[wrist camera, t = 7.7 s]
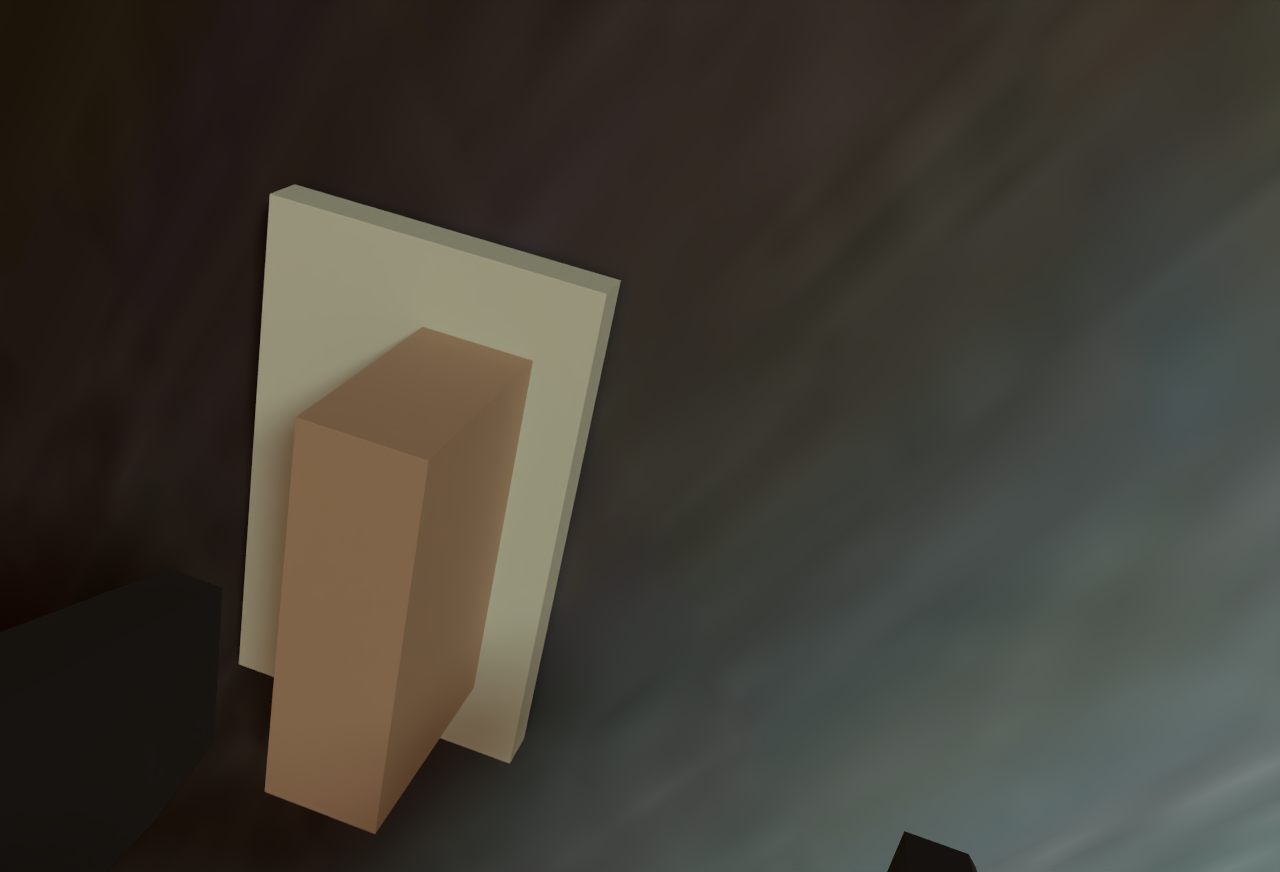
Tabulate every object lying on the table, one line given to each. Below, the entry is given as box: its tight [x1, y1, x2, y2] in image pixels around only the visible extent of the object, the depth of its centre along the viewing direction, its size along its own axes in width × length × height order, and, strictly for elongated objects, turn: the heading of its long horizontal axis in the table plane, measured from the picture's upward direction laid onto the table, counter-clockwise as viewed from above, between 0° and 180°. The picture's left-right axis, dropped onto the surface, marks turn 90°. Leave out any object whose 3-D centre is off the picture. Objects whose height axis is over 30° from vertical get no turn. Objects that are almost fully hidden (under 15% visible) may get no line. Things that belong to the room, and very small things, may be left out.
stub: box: [239, 185, 621, 834], centre depth 20 cm, size 10×6×5 cm, turn 168°
